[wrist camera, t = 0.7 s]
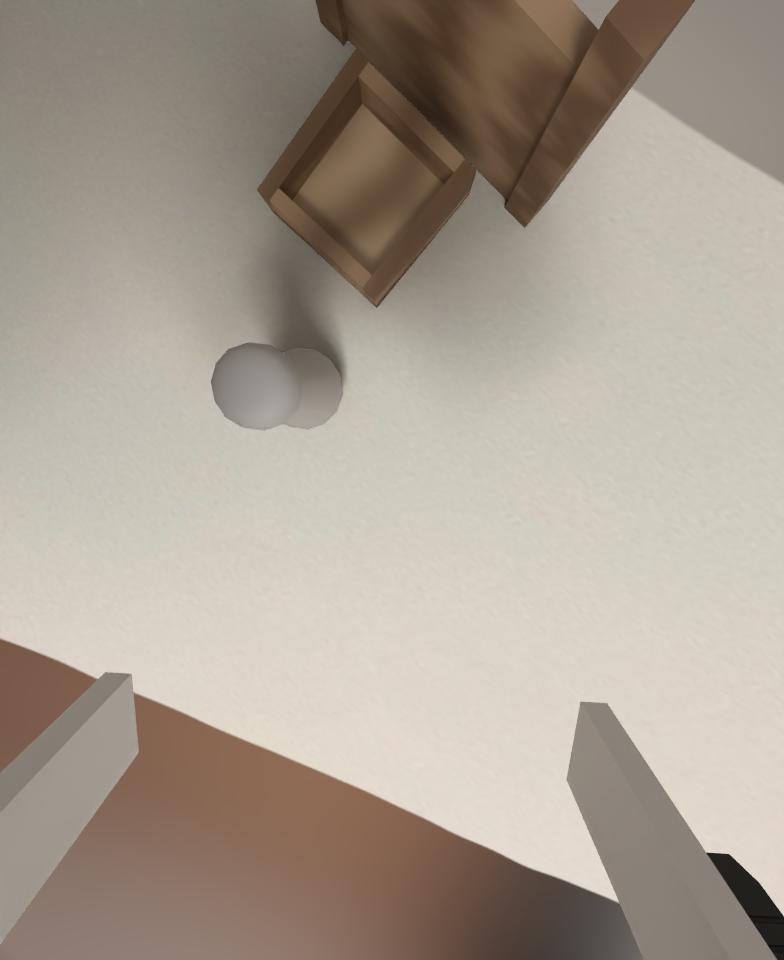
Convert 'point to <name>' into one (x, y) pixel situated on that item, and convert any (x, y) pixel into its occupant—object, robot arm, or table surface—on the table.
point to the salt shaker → (276, 387)
